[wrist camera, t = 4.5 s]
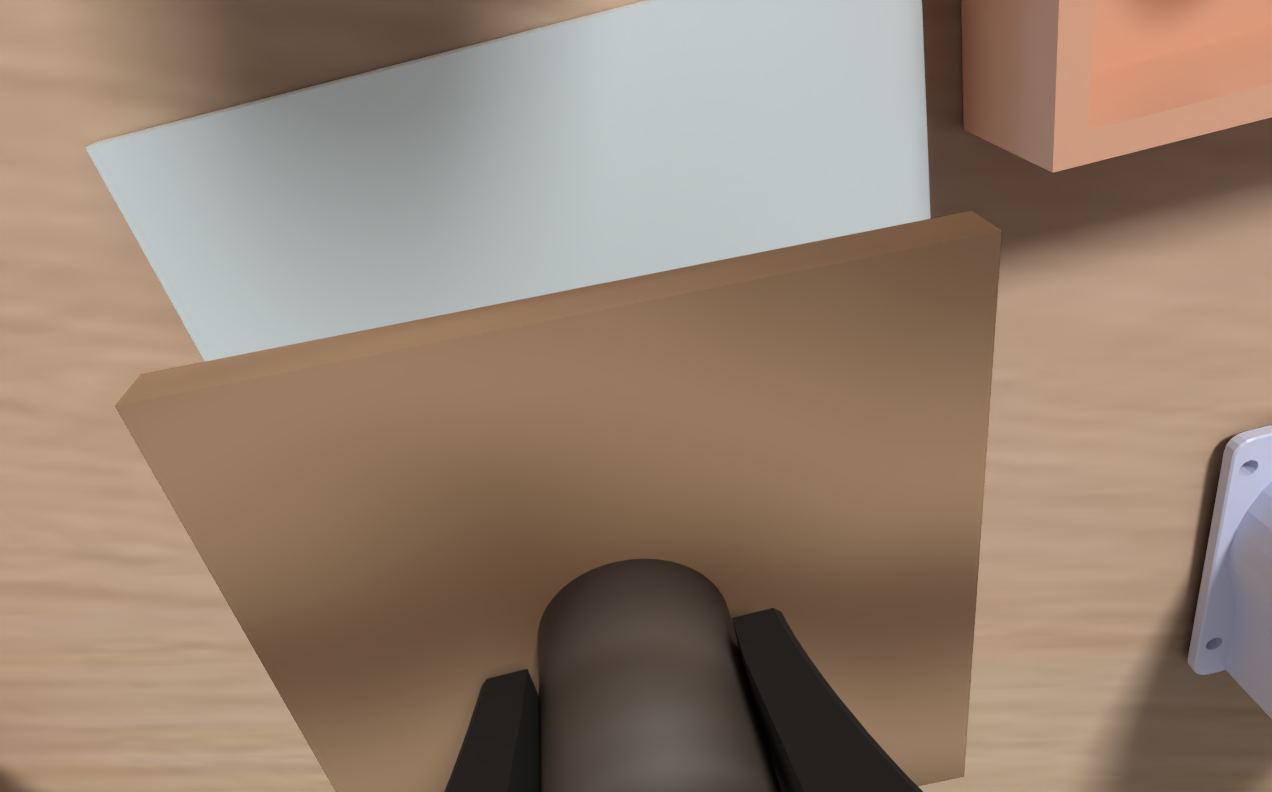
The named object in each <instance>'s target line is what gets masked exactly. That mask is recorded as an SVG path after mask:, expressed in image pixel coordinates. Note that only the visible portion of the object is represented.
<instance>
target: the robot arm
mask: <svg viewBox="0 0 1272 792" xmlns="http://www.w3.org/2000/svg"><path fill="white" fill-rule="evenodd" d="M732 621H733V625H734V630H735V634H736V639H737V643H738V647H739V651H740V654H741V658H742V661H743V665H744V668H745V672H746V675H747V679H748V682H749V685H750V689H751V692H752V696H753V699H754V703H755V706H756V709H757V712H758V715H759V718H760V721H761V724H762V726H763V730H764V733H765V737H766V740H767V743H768V747H769V750H770V754H771V757H772V761H773V764H774V767H775V771H776V774H777V778H778V781H779V785H780V788H781V791H782V792H923V791H922V790H921V789H920V788H919V787H918V786H917V785H916V784H915V783H914V782H913V781H912V780H911V779H910V778H909V777H908V776H907V775H906V774H905V773H904V771H903V770H902V769H901V768H900V767H899V766H898V765H897V764H896V763H895V762H894V761H893V760H892V759H891V757H890V756H889V755H888V754H887V753H886V752H885V751H884V750H883V749H882V748H881V746H880V745H879V744H878V743H877V742H876V741H875V740H874V738H873V737H872V736H871V735H870V734H869V733H868V732H867V730H866V729H865V728H864V727H863V726H862V724H861V723H860V722H859V721H858V720H857V718H856V717H855V716H854V715H853V713H852V712H851V711H850V710H849V709H848V707H847V706H846V705H845V704H844V703H843V701H842V700H841V699H840V698H839V697H838V695H837V694H836V693H835V691H834V690H833V689H832V687H831V686H830V685H829V684H828V682H827V681H826V680H825V678H824V677H823V676H822V674H821V673H820V671H819V670H818V669H817V667H816V666H815V665H814V663H813V662H812V660H811V659H810V658H809V656H808V655H807V653H806V652H805V650H804V649H803V647H802V646H801V644H800V643H799V641H798V640H797V638H796V637H795V635H794V633H793V631H792V630H791V628H790V626H789V625H788V623H787V621H786V619H785V617H784V616H783V614H782V612H781V611H779V610H777V609H775V608H770V609H766V610H762V611H758V612H754V613H750V614H746V615H742V616H738V617H734V618H732ZM1187 661H1188V665H1189V666H1190V667H1191V668H1192V669H1193V670H1194V672H1195V673H1197V674H1200V675H1208V674H1212V673H1216V672H1220V671H1224V670H1226V671H1227V672H1228V673H1229V674H1230V675H1231V676H1232V677H1233V678H1234V680H1235V681H1236V682H1237V683H1238V684H1239V685H1240V686H1241V687H1242V688H1243V689H1244V690H1245V691H1246V692H1247V693H1248V695H1249V696H1250V697H1251V698H1252V699H1253V700H1254V701H1255V702H1256V703H1257V704H1258V705H1259V706H1260V707H1261V709H1262V710H1263V711H1264V712H1265V713H1266V714H1267V715H1268V716H1269V717H1270V718H1271V719H1272V425H1269V426H1265V427H1261V428H1257V429H1253V430H1249V431H1245V432H1242V433H1240V434H1237V435H1236V436H1234V437H1233V438H1231V439H1230V441H1229V442H1228V443H1227V444H1226V447H1225V450H1224V454H1223V460H1222V466H1221V471H1220V477H1219V483H1218V488H1217V494H1216V500H1215V506H1214V511H1213V517H1212V523H1211V529H1210V534H1209V540H1208V546H1207V551H1206V557H1205V563H1204V569H1203V574H1202V580H1201V586H1200V591H1199V597H1198V603H1197V609H1196V614H1195V620H1194V626H1193V632H1192V637H1191V643H1190V649H1189V654H1188V660H1187ZM444 792H541V784H540V728H539V695H538V693H537V690H536V688H535V685H534V683H533V681H532V678H531V676H530V674H529V671H528V669H524V670H520V671H516V672H512V673H508V674H504V675H500V676H496V677H492V678H488V679H486V680H485V682H484V683H483V685H482V686H481V689H480V692H479V696H478V699H477V702H476V705H475V708H474V711H473V714H472V717H471V720H470V723H469V726H468V729H467V732H466V735H465V738H464V741H463V744H462V746H461V749H460V752H459V755H458V757H457V760H456V763H455V765H454V768H453V771H452V774H451V776H450V779H449V781H448V784H447V786H446V789H445V791H444Z"/></svg>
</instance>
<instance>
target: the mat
mask: <svg viewBox="0 0 1272 792" xmlns="http://www.w3.org/2000/svg"><path fill="white" fill-rule="evenodd" d="M86 150H87V151H88V153H89V155H90V157H91V159H92V160H93V162H94V164H95V166H96V168H97V169H98V171H99V173H100V175H101V176H102V178H103V180H104V182H105V184H106V185H107V187H108V189H109V191H110V193H111V194H112V196H113V198H114V200H115V202H116V203H117V205H118V207H119V209H120V210H121V212H122V214H123V216H124V218H125V219H126V221H127V223H128V225H129V227H130V228H131V230H132V232H133V234H134V236H135V237H136V239H137V241H138V243H139V245H140V246H141V248H142V250H143V252H144V253H145V255H146V257H147V259H148V261H149V262H150V264H151V266H152V268H153V270H154V271H155V273H156V275H157V277H158V279H159V280H160V282H161V284H162V286H163V287H164V289H165V291H166V293H167V295H168V296H169V298H170V300H171V302H172V304H173V305H174V307H175V309H176V311H177V313H178V314H179V316H180V318H181V320H182V321H183V323H184V325H185V327H186V329H187V330H188V332H189V334H190V336H191V338H192V339H193V341H194V343H195V345H196V347H197V348H198V350H199V352H200V354H201V356H202V357H203V359H204V361H205V362H206V361H211V360H216V359H221V358H226V357H231V356H236V355H241V354H246V353H251V352H256V351H261V350H267V349H272V348H277V347H282V346H287V345H292V344H297V343H302V342H307V341H312V340H317V339H322V338H327V337H333V336H338V335H343V334H348V333H353V332H358V331H363V330H368V329H373V328H378V327H383V326H388V325H393V324H399V323H404V322H409V321H414V320H419V319H424V318H429V317H434V316H439V315H444V314H449V313H454V312H459V311H465V310H470V309H475V308H480V307H485V306H490V305H495V304H500V303H505V302H510V301H515V300H520V299H525V298H531V297H536V296H541V295H546V294H551V293H556V292H561V291H566V290H571V289H576V288H581V287H586V286H591V285H597V284H602V283H607V282H612V281H617V280H622V279H627V278H632V277H637V276H642V275H647V274H652V273H657V272H663V271H668V270H673V269H678V268H683V267H688V266H693V265H698V264H703V263H708V262H713V261H718V260H723V259H729V258H734V257H739V256H744V255H749V254H754V253H759V252H764V251H769V250H774V249H779V248H784V247H789V246H795V245H800V244H805V243H810V242H815V241H820V240H825V239H830V238H835V237H840V236H845V235H850V234H855V233H861V232H866V231H871V230H876V229H881V228H886V227H891V226H896V225H901V224H906V223H911V222H916V221H921V220H927V219H931V215H930V190H929V165H928V140H927V115H926V90H925V65H924V40H923V15H922V0H645V1H641V2H637V3H633V4H629V5H625V6H622V7H618V8H614V9H610V10H606V11H602V12H598V13H594V14H591V15H587V16H583V17H579V18H575V19H571V20H567V21H563V22H559V23H556V24H552V25H548V26H544V27H540V28H536V29H532V30H528V31H525V32H521V33H517V34H513V35H509V36H505V37H501V38H497V39H493V40H490V41H486V42H482V43H478V44H474V45H470V46H466V47H462V48H458V49H455V50H451V51H447V52H443V53H439V54H435V55H431V56H427V57H424V58H420V59H416V60H412V61H408V62H404V63H400V64H396V65H392V66H389V67H385V68H381V69H377V70H373V71H369V72H365V73H361V74H358V75H354V76H350V77H346V78H342V79H338V80H334V81H330V82H326V83H323V84H319V85H315V86H311V87H307V88H303V89H299V90H295V91H292V92H288V93H284V94H280V95H276V96H272V97H268V98H264V99H260V100H257V101H253V102H249V103H245V104H241V105H237V106H233V107H229V108H226V109H222V110H218V111H214V112H210V113H206V114H202V115H198V116H194V117H191V118H187V119H183V120H179V121H175V122H171V123H167V124H163V125H159V126H156V127H152V128H148V129H144V130H140V131H136V132H132V133H128V134H125V135H121V136H117V137H113V138H109V139H105V140H101V141H97V142H95V143H93V144H92V145H90V146H88V147H86Z"/></svg>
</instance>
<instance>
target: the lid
mask: <svg viewBox="0 0 1272 792" xmlns="http://www.w3.org/2000/svg"><path fill="white" fill-rule="evenodd" d="M1001 236H1002V230H1000V229H999V228H997V227H996V226H994V225H993V224H991V223H990V222H988V221H987V220H985V219H984V218H982V217H981V216H979V215H978V214H976V213H975V212H973V211H967V212H962V213H957V214H952V215H947V216H942V217H937V218H932V219H927V220H921V221H916V222H911V223H906V224H901V225H896V226H891V227H886V228H881V229H876V230H871V231H866V232H861V233H855V234H850V235H845V236H840V237H835V238H830V239H825V240H820V241H815V242H810V243H805V244H800V245H795V246H789V247H784V248H779V249H774V250H769V251H764V252H759V253H754V254H749V255H744V256H739V257H734V258H729V259H723V260H718V261H713V262H708V263H703V264H698V265H693V266H688V267H683V268H678V269H673V270H668V271H663V272H657V273H652V274H647V275H642V276H637V277H632V278H627V279H622V280H617V281H612V282H607V283H602V284H597V285H591V286H586V287H581V288H576V289H571V290H566V291H561V292H556V293H551V294H546V295H541V296H536V297H531V298H525V299H520V300H515V301H510V302H505V303H500V304H495V305H490V306H485V307H480V308H475V309H470V310H465V311H459V312H454V313H449V314H444V315H439V316H434V317H429V318H424V319H419V320H414V321H409V322H404V323H399V324H393V325H388V326H383V327H378V328H373V329H368V330H363V331H358V332H353V333H348V334H343V335H338V336H333V337H327V338H322V339H317V340H312V341H307V342H302V343H297V344H292V345H287V346H282V347H277V348H272V349H267V350H261V351H256V352H251V353H246V354H241V355H236V356H231V357H226V358H221V359H216V360H211V361H206V362H201V363H195V364H190V365H185V366H180V367H175V368H170V369H165V370H160V371H155V372H150V373H145V374H141V375H140V376H139V377H138V378H137V380H136V381H135V382H134V383H133V384H132V386H131V387H130V388H129V389H128V391H127V392H126V393H125V394H124V395H123V397H122V398H121V399H120V400H119V401H118V403H117V404H116V405H115V407H116V409H117V411H118V412H119V414H120V416H121V418H122V419H123V421H124V423H125V425H126V426H127V428H128V430H129V432H130V433H131V435H132V437H133V439H134V440H135V442H136V444H137V446H138V447H139V449H140V451H141V453H142V454H143V456H144V458H145V460H146V461H147V463H148V465H149V467H150V468H151V470H152V472H153V474H154V475H155V477H156V479H157V480H158V482H159V484H160V486H161V487H162V489H163V491H164V493H165V494H166V496H167V498H168V500H169V501H170V503H171V505H172V507H173V508H174V510H175V512H176V514H177V515H178V517H179V519H180V521H181V522H182V524H183V526H184V528H185V529H186V531H187V533H188V535H189V536H190V538H191V540H192V542H193V543H194V545H195V547H196V549H197V550H198V552H199V554H200V556H201V557H202V559H203V561H204V563H205V564H206V566H207V568H208V570H209V571H210V573H211V575H212V577H213V578H214V580H215V582H216V584H217V585H218V587H219V589H220V591H221V592H222V594H223V596H224V597H225V599H226V601H227V603H228V604H229V606H230V608H231V610H232V611H233V613H234V615H235V617H236V618H237V620H238V622H239V624H240V625H241V627H242V629H243V631H244V632H245V634H246V636H247V638H248V639H249V641H250V643H251V645H252V646H253V648H254V650H255V652H256V653H257V655H258V657H259V659H260V660H261V662H262V664H263V666H264V667H265V669H266V671H267V673H268V674H269V676H270V678H271V680H272V681H273V683H274V685H275V687H276V688H277V690H278V692H279V694H280V695H281V697H282V699H283V701H284V702H285V704H286V706H287V707H288V709H289V711H290V713H291V714H292V716H293V718H294V720H295V721H296V723H297V725H298V727H299V728H300V730H301V732H302V734H303V735H304V737H305V739H306V741H307V742H308V744H309V746H310V748H311V749H312V751H313V753H314V755H315V756H316V758H317V760H318V762H319V763H320V765H321V767H322V769H323V770H324V772H325V774H326V776H327V777H328V779H329V781H330V783H331V784H332V786H333V788H334V790H335V791H336V792H444V791H445V789H446V786H447V784H448V781H449V779H450V776H451V774H452V771H453V768H454V765H455V763H456V760H457V757H458V755H459V752H460V749H461V746H462V744H463V741H464V738H465V735H466V732H467V729H468V726H469V723H470V720H471V717H472V714H473V711H474V708H475V705H476V702H477V699H478V696H479V692H480V689H481V686H482V685H483V683H484V682H485V680H486V679H488V678H492V677H496V676H500V675H504V674H508V673H512V672H516V671H520V670H524V669H528V671H529V674H530V676H531V678H532V681H533V683H534V685H535V688H536V690H537V693H538V695H539V728H540V784H541V792H782V791H781V788H780V785H779V781H778V778H777V774H776V771H775V767H774V764H773V761H772V757H771V754H770V750H769V747H768V743H767V740H766V737H765V733H764V730H763V726H762V724H761V721H760V718H759V715H758V712H757V709H756V706H755V703H754V699H753V696H752V692H751V689H750V685H749V682H748V679H747V675H746V672H745V668H744V665H743V661H742V658H741V654H740V651H739V647H738V643H737V639H736V634H735V630H734V625H733V621H732V618H734V617H738V616H742V615H746V614H750V613H754V612H758V611H762V610H766V609H770V608H775V609H777V610H779V611H781V612H782V614H783V616H784V617H785V619H786V621H787V623H788V625H789V626H790V628H791V630H792V631H793V633H794V635H795V637H796V638H797V640H798V641H799V643H800V644H801V646H802V647H803V649H804V650H805V652H806V653H807V655H808V656H809V658H810V659H811V660H812V662H813V663H814V665H815V666H816V667H817V669H818V670H819V671H820V673H821V674H822V676H823V677H824V678H825V680H826V681H827V682H828V684H829V685H830V686H831V687H832V689H833V690H834V691H835V693H836V694H837V695H838V697H839V698H840V699H841V700H842V701H843V703H844V704H845V705H846V706H847V707H848V709H849V710H850V711H851V712H852V713H853V715H854V716H855V717H856V718H857V720H858V721H859V722H860V723H861V724H862V726H863V727H864V728H865V729H866V730H867V732H868V733H869V734H870V735H871V736H872V737H873V738H874V740H875V741H876V742H877V743H878V744H879V745H880V746H881V748H882V749H883V750H884V751H885V752H886V753H887V754H888V755H889V756H890V757H891V759H892V760H893V761H894V762H895V763H896V764H897V765H898V766H899V767H900V768H901V769H902V770H903V771H904V773H905V774H906V775H907V776H908V777H909V778H910V779H911V780H912V781H913V782H914V783H915V784H916V785H917V786H921V785H926V784H931V783H936V782H940V781H945V780H950V779H955V778H959V777H964V770H965V755H966V741H967V727H968V712H969V698H970V683H971V669H972V654H973V640H974V626H975V611H976V597H977V582H978V568H979V553H980V539H981V525H982V510H983V496H984V481H985V467H986V453H987V438H988V424H989V409H990V395H991V380H992V366H993V352H994V337H995V323H996V308H997V294H998V279H999V265H1000V251H1001Z"/></svg>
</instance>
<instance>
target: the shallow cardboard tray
mask: <svg viewBox="0 0 1272 792" xmlns="http://www.w3.org/2000/svg"><path fill="white" fill-rule="evenodd" d="M961 7H962V63H963V119H964V130H965V131H967V132H969V133H971V134H973V135H975V136H978V137H980V138H982V139H984V140H986V141H988V142H990V143H992V144H994V145H996V146H998V147H1000V148H1002V149H1004V150H1007V151H1009V152H1011V153H1013V154H1015V155H1017V156H1019V157H1021V158H1023V159H1025V160H1027V161H1029V162H1031V163H1034V164H1036V165H1038V166H1040V167H1042V168H1044V169H1046V170H1048V171H1050V172H1052V173H1054V172H1058V171H1062V170H1065V169H1069V168H1073V167H1077V166H1081V165H1085V164H1089V163H1093V162H1097V161H1101V160H1105V159H1109V158H1113V157H1117V156H1121V155H1125V154H1129V153H1133V152H1137V151H1141V150H1145V149H1149V148H1152V147H1156V146H1160V145H1164V144H1168V143H1172V142H1176V141H1180V140H1184V139H1188V138H1192V137H1196V136H1200V135H1204V134H1208V133H1212V132H1216V131H1220V130H1224V129H1228V128H1232V127H1235V126H1239V125H1243V124H1247V123H1251V122H1255V121H1259V120H1263V119H1267V118H1271V117H1272V0H961Z"/></svg>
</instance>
